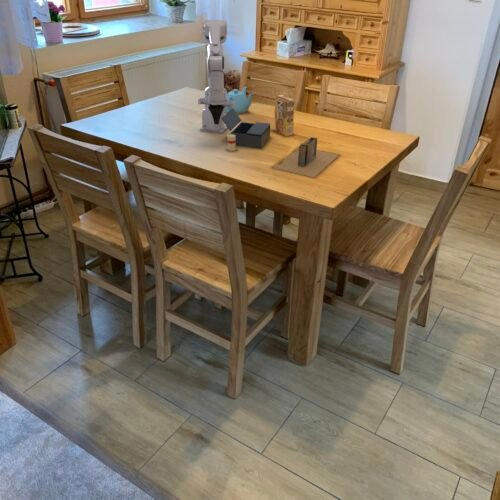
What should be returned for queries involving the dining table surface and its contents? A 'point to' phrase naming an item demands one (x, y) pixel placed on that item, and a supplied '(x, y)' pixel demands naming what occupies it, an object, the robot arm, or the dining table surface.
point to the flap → (231, 119)
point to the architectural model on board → (307, 159)
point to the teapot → (239, 101)
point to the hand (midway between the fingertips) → (216, 123)
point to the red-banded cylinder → (231, 142)
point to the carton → (252, 134)
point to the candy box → (284, 115)
